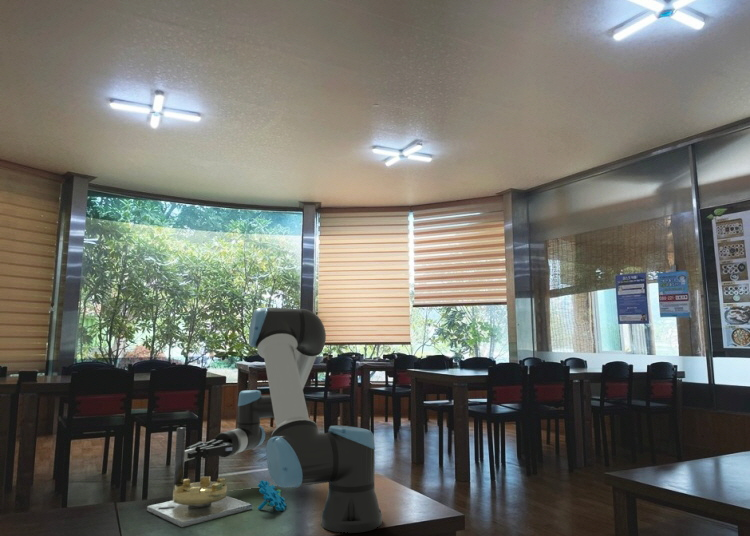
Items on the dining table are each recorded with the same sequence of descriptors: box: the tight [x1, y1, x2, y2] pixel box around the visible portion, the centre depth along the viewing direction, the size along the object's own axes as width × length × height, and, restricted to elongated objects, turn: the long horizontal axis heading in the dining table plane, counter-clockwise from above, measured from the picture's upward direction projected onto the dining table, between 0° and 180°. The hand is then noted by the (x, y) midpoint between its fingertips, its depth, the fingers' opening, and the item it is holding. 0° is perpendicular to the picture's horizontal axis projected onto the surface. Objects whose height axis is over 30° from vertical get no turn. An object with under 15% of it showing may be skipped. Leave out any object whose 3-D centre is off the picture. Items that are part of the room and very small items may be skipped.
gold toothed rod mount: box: [172, 426, 228, 505], centre depth 140 cm, size 14×14×18 cm
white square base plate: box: [146, 495, 253, 528], centre depth 138 cm, size 20×20×3 cm
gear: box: [257, 479, 287, 512], centre depth 139 cm, size 11×6×10 cm
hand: (177, 458), depth 141 cm, fingers closed
